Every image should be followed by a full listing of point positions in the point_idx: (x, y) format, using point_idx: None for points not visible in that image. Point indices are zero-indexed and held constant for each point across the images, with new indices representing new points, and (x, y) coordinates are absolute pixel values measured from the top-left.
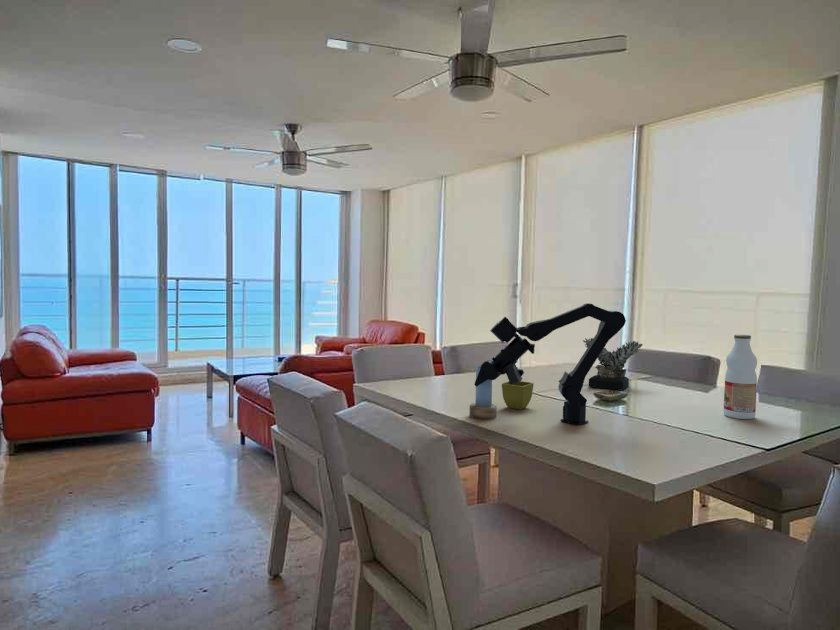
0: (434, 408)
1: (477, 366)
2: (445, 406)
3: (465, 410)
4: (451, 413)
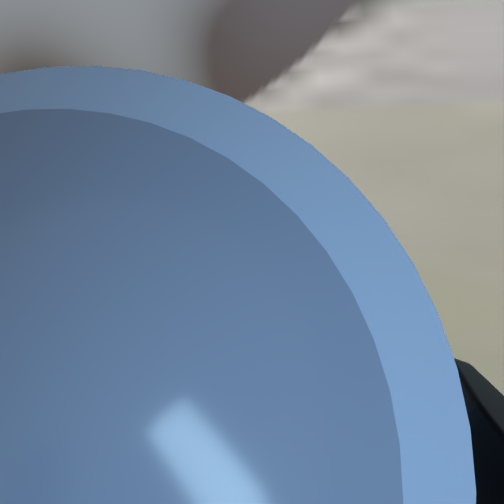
0: (421, 22)
1: (16, 112)
2: (501, 84)
3: (403, 221)
4: (295, 132)
